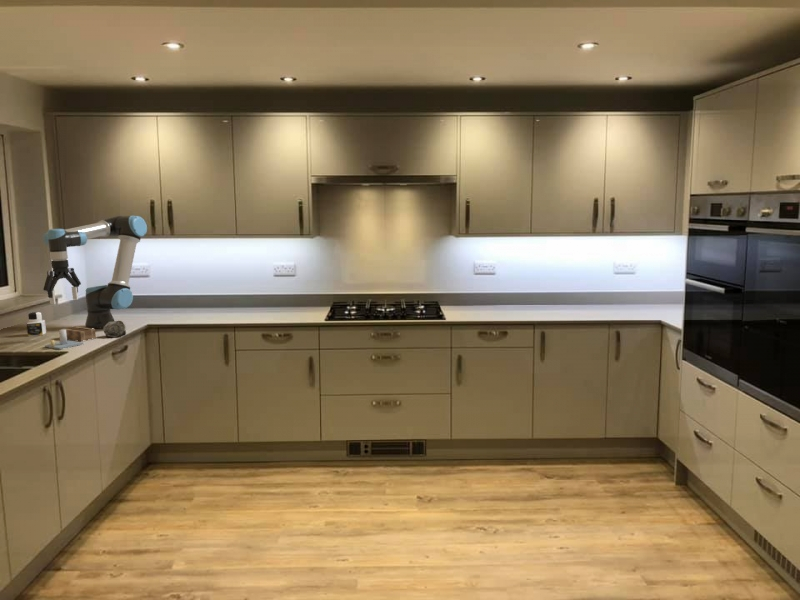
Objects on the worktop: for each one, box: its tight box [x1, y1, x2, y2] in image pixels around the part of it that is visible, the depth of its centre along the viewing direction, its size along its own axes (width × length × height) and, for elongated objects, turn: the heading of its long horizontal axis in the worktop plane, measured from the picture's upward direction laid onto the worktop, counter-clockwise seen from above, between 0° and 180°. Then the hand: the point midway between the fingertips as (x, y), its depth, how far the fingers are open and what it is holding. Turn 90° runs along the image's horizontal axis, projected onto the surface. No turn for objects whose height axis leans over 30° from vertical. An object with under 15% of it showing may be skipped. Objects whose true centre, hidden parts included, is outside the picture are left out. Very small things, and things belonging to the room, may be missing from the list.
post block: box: [44, 328, 84, 350], centre depth 297 cm, size 12×12×8 cm
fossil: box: [102, 320, 127, 339], centre depth 319 cm, size 11×9×10 cm
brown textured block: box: [59, 325, 97, 342], centre depth 314 cm, size 17×8×5 cm, turn 61°
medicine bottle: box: [26, 311, 47, 337], centre depth 326 cm, size 7×7×12 cm
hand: (64, 301), depth 308 cm, fingers open, 13 cm apart
